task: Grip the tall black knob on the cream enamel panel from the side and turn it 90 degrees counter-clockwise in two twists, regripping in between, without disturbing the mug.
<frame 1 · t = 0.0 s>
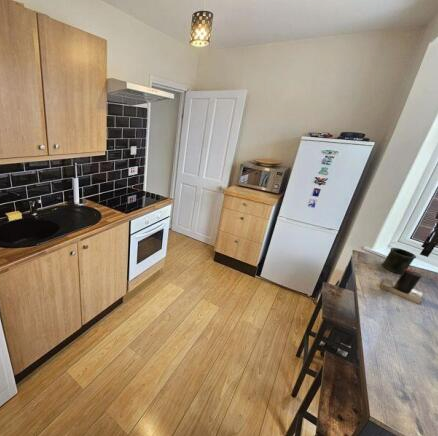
hand: (424, 251, 116), 22 cm above the table, tool pointing down, fingers open, 13 cm apart
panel: (399, 293, 119), on the table
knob: (408, 280, 116), point 8 cm above the table, hinge at 0.0°
mug: (392, 268, 142), on the table
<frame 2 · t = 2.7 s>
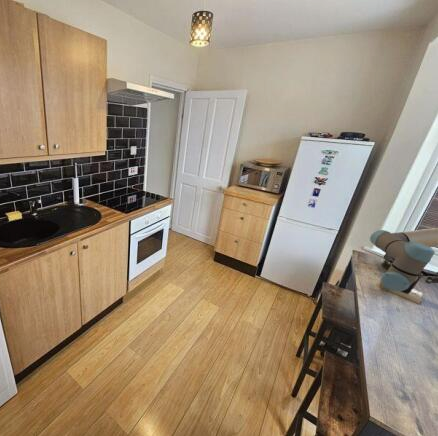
hand: (418, 263, 107), 21 cm above the table, tool horizontal, fingers open, 13 cm apart
nothing on the table moved.
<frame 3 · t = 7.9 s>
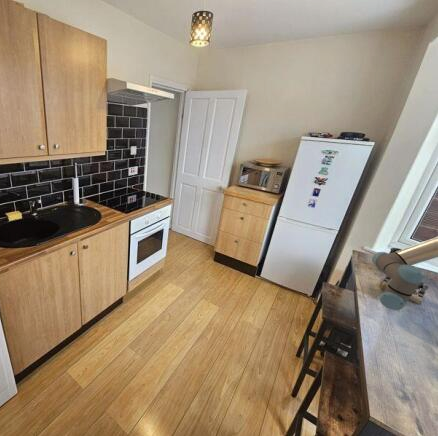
hand: (411, 276, 118), 9 cm above the table, tool horizontal, fingers closed on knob, 6 cm apart
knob: (408, 280, 116), point 8 cm above the table, hinge at 0.0°, touching gripper
everything else where it was.
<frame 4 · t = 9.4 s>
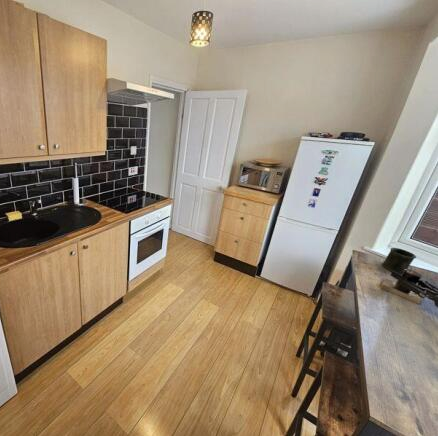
hand: (397, 273, 120), 9 cm above the table, tool horizontal, fingers open, 6 cm apart
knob: (408, 280, 116), point 8 cm above the table, hinge at 67.1°
everything else where it was.
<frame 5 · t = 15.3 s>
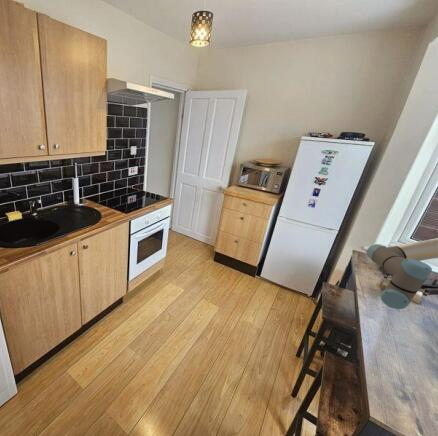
hand: (413, 273, 107), 16 cm above the table, tool horizontal, fingers open, 13 cm apart
nothing on the table moved.
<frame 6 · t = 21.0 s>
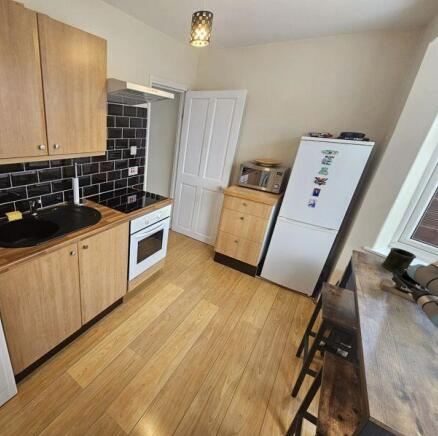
hand: (404, 274, 120), 9 cm above the table, tool horizontal, fingers open, 7 cm apart
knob: (408, 280, 116), point 8 cm above the table, hinge at 107.4°
everything else where it was.
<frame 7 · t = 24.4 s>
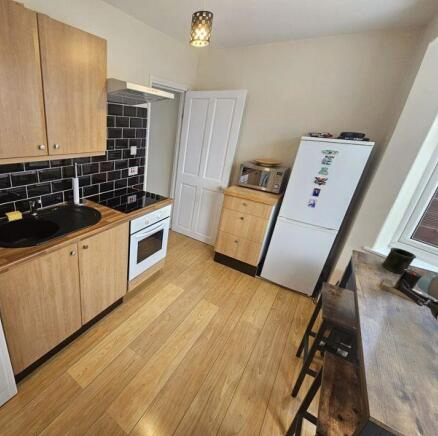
hand: (421, 286, 107), 11 cm above the table, tool horizontal, fingers open, 13 cm apart
nothing on the table moved.
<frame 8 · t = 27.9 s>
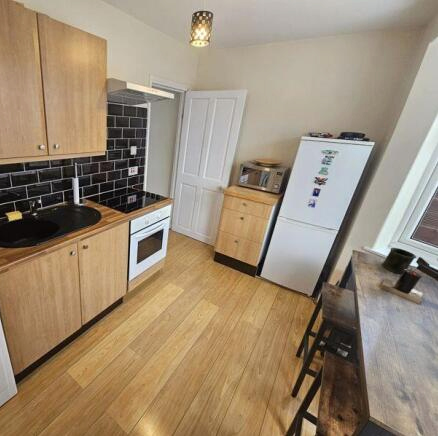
nothing on the table moved.
at the end: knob at +107° (first picture: +0°); mug moved 0.2 cm from its start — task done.
